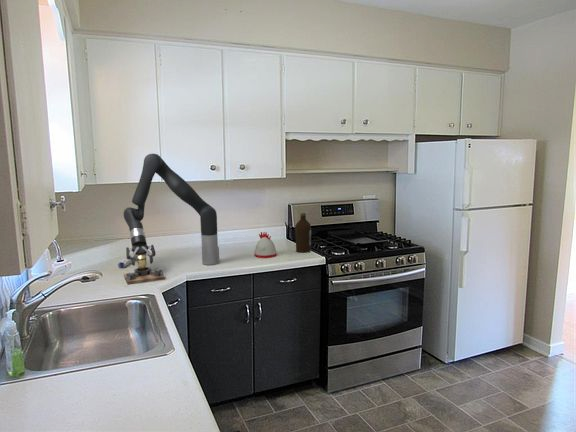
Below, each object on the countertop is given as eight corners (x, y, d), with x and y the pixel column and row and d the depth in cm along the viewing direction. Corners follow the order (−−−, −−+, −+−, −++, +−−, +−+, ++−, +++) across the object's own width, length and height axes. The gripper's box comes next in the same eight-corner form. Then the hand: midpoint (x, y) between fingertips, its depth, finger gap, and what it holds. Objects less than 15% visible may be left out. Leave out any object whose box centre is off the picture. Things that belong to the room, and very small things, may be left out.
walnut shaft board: (159, 272, 224) (158, 269, 224) (165, 279, 210) (165, 276, 210) (123, 276, 216) (123, 274, 216) (127, 284, 202) (127, 281, 202)
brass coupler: (146, 272, 219) (145, 253, 217) (148, 274, 215) (146, 255, 213) (137, 273, 217) (136, 254, 215) (138, 275, 212) (137, 256, 211)
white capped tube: (116, 262, 233) (134, 246, 257) (117, 273, 234) (135, 256, 258) (125, 262, 232) (142, 246, 256) (126, 273, 234) (143, 256, 258)
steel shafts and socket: (158, 269, 223) (158, 264, 223) (163, 275, 212) (163, 270, 211) (124, 274, 215) (123, 269, 215) (127, 280, 204) (127, 275, 203)
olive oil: (295, 253, 264) (295, 214, 261) (294, 249, 275) (294, 212, 271) (312, 252, 265) (312, 214, 261) (310, 249, 275) (310, 212, 272)
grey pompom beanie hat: (261, 252, 269) (260, 229, 267) (280, 254, 263) (279, 231, 261) (250, 257, 256) (249, 233, 254) (269, 259, 250) (269, 234, 248)
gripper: (124, 235, 216) (128, 261, 208) (152, 233, 223) (157, 258, 214) (123, 243, 221) (127, 269, 213) (151, 241, 228) (156, 265, 220)
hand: (142, 263), depth 214 cm, fingers open, 8 cm apart
